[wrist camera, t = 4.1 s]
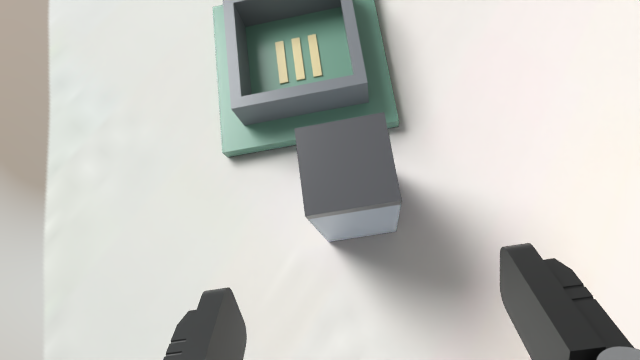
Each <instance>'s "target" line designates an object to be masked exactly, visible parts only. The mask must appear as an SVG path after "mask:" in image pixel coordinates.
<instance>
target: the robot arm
mask: <svg viewBox="0 0 640 360" xmlns="http://www.w3.org/2000/svg"><path fill="white" fill-rule="evenodd" d="M500 292H501V297H502V301H503V304H504V306H505V309H506V311H507V313H508V315H509V317H510V319H511V320H512V322H513V324H514V326H515V328H516V330H517V332H518V334H519V336H520V338H521V340H522V342H523V344H524V346H525V347H526V349H527V351H528V353H529V355H530V357H531V359H532V360H640V350H639V349H635V348H634V347H633V346H632V345H631V344H630V342H629V341H628V340H627V338H626V337H625V336H624V335H623V333H622V332H621V331H620V330H619V328H618V327H617V326H616V325H615V323H614V322H613V321H612V320H611V318H610V317H609V316H608V315H607V313H606V312H605V311H604V310H603V308H602V307H601V306H600V304H599V303H598V302H597V301H596V299H593V296H592V294H591V293H590V292H589V291H588V289H587V288H586V287H584V286H583V283H582V282H581V281H580V279H579V278H578V277H577V276H576V274H575V273H574V272H573V270H572V269H570V268H568V267H567V266H565V265H564V264H562V263H561V262H559V261H558V260H556V259H554V258H553V259H546V260H543V259H542V258H541V256H540V255H539V254H538V252H537V251H536V250H535V248H534V247H533V246H532V245H531V244H530V243H526V244H519V245H513V246H506V247H502V248H501V250H500ZM246 339H247V336H246V327H245V323H244V320H243V317H242V315H241V312H240V310H239V307H238V305H237V302H236V300H235V297H234V295H233V292H232V290H231V289H230V288H222V289H215V290H209V291H204V292H203V294H202V296H201V299H200V302H199V305H198V307H197V310H192V311H188V313H187V314H186V315H185V316H184V317H183V319H182V320H181V321H180V322H179V323H178V325H177V327H176V329H175V332H174V334H173V337H172V339H171V344H169V347H168V349H167V352H166V357H164V359H163V360H243V357H244V352H245V347H246Z"/></svg>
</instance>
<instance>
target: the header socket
mask: <svg viewBox="0 0 640 360" xmlns="http://www.w3.org/2000/svg"><path fill="white" fill-rule="evenodd" d="M213 20H214V35H215V50H216V65H217V80H218V95H219V109H220V124H221V139H222V153H223V154H224V155H226V156H227V157H231V156H237V155H242V154H248V153H254V152H259V151H265V150H270V149H276V148H281V147H287V146H292V145H296V138H295V130H294V129H295V128H301V127H306V126H311V125H317V124H322V123H328V122H333V121H339V120H344V119H349V118H355V117H360V116H366V115H371V114H377V113H382V112H384V113H385V118H386V123H387V128H392V127H398V125H399V119H398V114H397V109H396V104H395V99H394V94H393V90H392V85H391V80H390V75H389V70H388V65H387V61H386V56H385V51H384V46H383V41H382V36H381V32H380V27H379V22H378V17H377V12H376V7H375V3H374V0H223V5H220V6H215V7H213Z"/></svg>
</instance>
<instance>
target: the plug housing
mask: <svg viewBox="0 0 640 360" xmlns="http://www.w3.org/2000/svg"><path fill="white" fill-rule="evenodd" d="M294 130H295V138H296V146H297V154H298V162H299V170H300V178H301V186H302V195H303V203H304V211H305V217H306V218H307V219H308V220H309V221H310V222H311V223H312V224H313V225H314V227H315V228H316V229H317V230H318V231H319V232H320V233H321V234H322V235H323V236H324V238H325V239H326V240H327V241H328V242H332V241H338V240H345V239H351V238H357V237H364V236H370V235H377V234H383V233H390V232H396V230H397V224H398V219H399V213H400V207H401V202H402V200H401V195H400V190H399V184H398V179H397V174H396V169H395V164H394V159H393V154H392V149H391V144H390V139H389V134H388V129H387V123H386V118H385V113H384V112H382V113H377V114H371V115H366V116H360V117H355V118H349V119H344V120H339V121H333V122H328V123H322V124H317V125H311V126H306V127H301V128H295V129H294Z"/></svg>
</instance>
